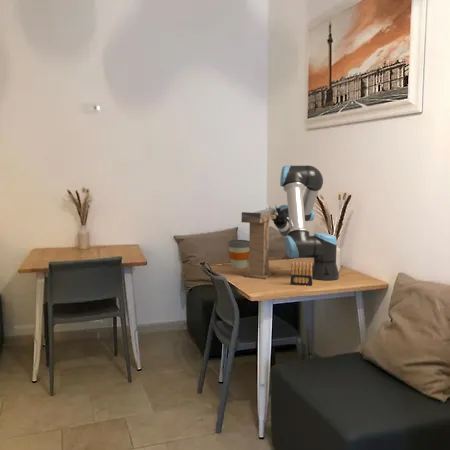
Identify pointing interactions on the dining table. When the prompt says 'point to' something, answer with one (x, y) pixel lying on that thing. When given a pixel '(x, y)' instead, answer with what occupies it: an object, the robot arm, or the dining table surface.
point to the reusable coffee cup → (239, 253)
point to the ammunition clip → (305, 275)
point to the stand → (258, 244)
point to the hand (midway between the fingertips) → (270, 206)
